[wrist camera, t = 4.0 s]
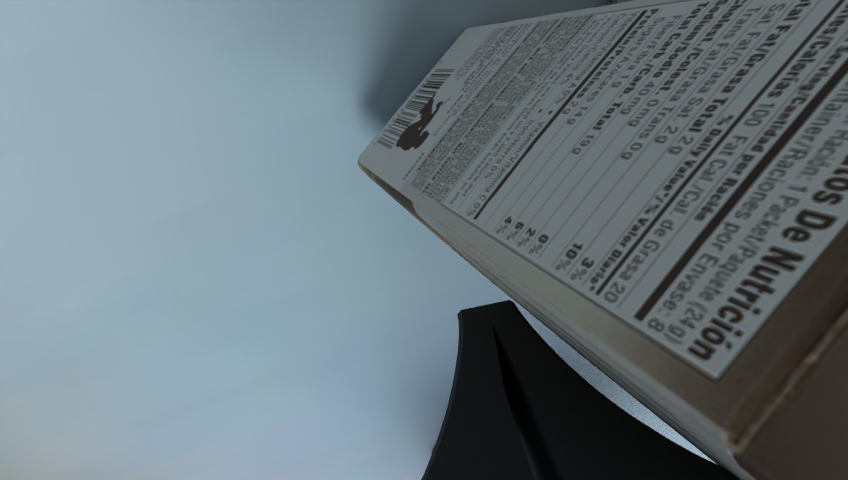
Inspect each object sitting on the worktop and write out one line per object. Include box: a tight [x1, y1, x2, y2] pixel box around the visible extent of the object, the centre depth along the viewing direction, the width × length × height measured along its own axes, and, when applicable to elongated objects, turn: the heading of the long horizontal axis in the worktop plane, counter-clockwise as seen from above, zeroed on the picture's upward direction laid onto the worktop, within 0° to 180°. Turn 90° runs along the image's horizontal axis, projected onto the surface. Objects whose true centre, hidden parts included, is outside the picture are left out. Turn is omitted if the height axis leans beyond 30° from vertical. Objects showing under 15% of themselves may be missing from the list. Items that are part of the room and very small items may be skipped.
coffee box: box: [358, 0, 848, 480], centre depth 14 cm, size 9×6×16 cm
